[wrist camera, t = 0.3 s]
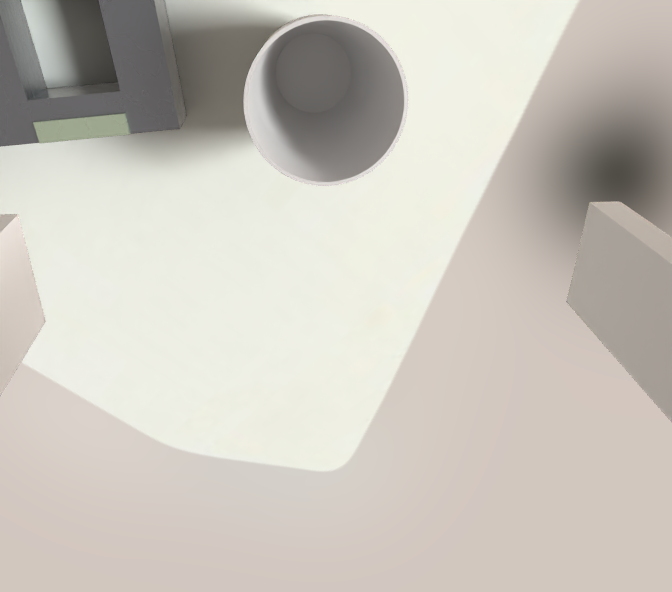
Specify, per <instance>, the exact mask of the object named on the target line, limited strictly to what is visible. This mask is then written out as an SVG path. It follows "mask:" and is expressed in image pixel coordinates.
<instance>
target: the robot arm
mask: <svg viewBox="0 0 672 592" xmlns="http://www.w3.org/2000/svg"><path fill="white" fill-rule="evenodd" d="M567 303H568V304H569V305H570V307H571V308H572V309H573V310H574V311H575V312H576V313H577V315H578V316H579V317H580V318H581V319H582V320H583V321H584V323H585V324H586V325H587V326H588V327H589V328H590V329H591V331H592V332H593V333H594V334H595V335H596V336H597V337H598V339H599V340H600V341H601V342H602V343H603V344H604V345H605V346H606V348H607V349H608V350H609V351H610V352H611V353H612V354H613V356H614V357H615V358H616V359H617V360H618V361H619V362H620V364H621V365H622V366H623V367H624V368H625V369H626V371H627V372H628V373H629V374H630V375H631V376H632V377H633V379H634V380H635V381H636V382H637V383H638V384H639V385H640V386H641V388H642V389H643V390H644V391H645V392H646V393H647V395H648V396H649V397H650V398H651V399H652V400H653V401H654V403H655V404H656V405H657V406H658V407H659V408H660V409H661V411H662V412H663V413H664V414H665V415H666V416H667V417H668V419H670V421H671V422H672V237H671V236H669V235H668V234H666V233H665V232H663V231H662V230H661V229H659V228H658V227H656V226H655V225H653V224H652V223H650V222H649V221H647V220H646V219H645V218H643V217H642V216H640V215H639V214H637V213H636V212H634V211H633V210H631V209H630V208H629V207H627V206H626V205H624V204H623V203H621V202H590V203H589V207H588V212H587V216H586V220H585V225H584V229H583V233H582V237H581V242H580V246H579V250H578V255H577V259H576V263H575V267H574V272H573V276H572V280H571V284H570V289H569V293H568V297H567ZM45 322H46V321H45V317H44V313H43V309H42V305H41V301H40V298H39V294H38V290H37V286H36V282H35V278H34V274H33V270H32V266H31V262H30V258H29V255H28V251H27V247H26V243H25V239H24V235H23V231H22V227H21V223H20V219H19V216H18V214H5V215H0V396H1V394H2V393H3V391H4V389H5V388H6V386H7V385H8V383H9V381H10V380H11V378H12V376H13V375H14V373H15V371H16V370H17V368H18V366H19V365H20V363H21V361H22V360H23V358H24V356H25V355H26V353H27V352H28V350H29V348H30V347H31V345H32V343H33V342H34V340H35V338H36V337H37V335H38V333H39V332H40V330H41V328H42V327H43V325H44V323H45Z"/></svg>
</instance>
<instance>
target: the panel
mask: <svg viewBox="0 0 672 592" xmlns="http://www.w3.org/2000/svg"><path fill="white" fill-rule="evenodd" d="M98 1H99V5H100V9H101V13H102V18H103V22H104V26H105V30H106V34H107V38H108V42H109V47H110V51H111V55H112V59H113V63H114V67H115V71H116V76H117V80H118V82H113V83H103V84H92V85H81V86H71V87H60V88H50V89H47V88H46V84H45V81H44V77H43V74H42V71H41V67H40V64H39V61H38V57H37V54H36V51H35V47H34V44H33V41H32V37H31V34H30V31H29V27H28V24H27V21H26V17H25V14H24V11H23V7H22V4H21V1H20V0H0V146H10V145H20V144H30V143H48V142H58V141H68V140H79V139H89V138H99V137H109V136H119V135H129V134H131V133H142V132H152V131H162V130H172V129H180V128H181V126H182V124H183V122H184V120H185V118H186V116H187V115H186V109H185V104H184V99H183V94H182V89H181V83H180V78H179V73H178V68H177V63H176V58H175V52H174V47H173V42H172V37H171V32H170V26H169V21H168V16H167V11H166V6H165V0H98Z"/></svg>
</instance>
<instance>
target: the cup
mask: <svg viewBox="0 0 672 592" xmlns="http://www.w3.org/2000/svg"><path fill="white" fill-rule="evenodd" d="M243 103H244V115H245V120H246V124H247V128H248V131H249V133H250V136H251V138H252V140H253V142H254V144H255V146H256V147H257V149H258V150H259V152H260V153H261V154H262V156H263V157H264V158H265V159H266V160H267V161H268V162H269V163H270V164H271V165H272V166H273V167H274V168H275V169H277V170H278V171H280V172H281V173H283V174H284V175H286V176H288V177H290V178H292V179H294V180H297V181H299V182H303V183H306V184H311V185H320V186H330V185H339V184H343V183H347V182H350V181H353V180H356V179H358V178H360V177H362V176H364V175H366V174H367V173H369V172H371V171H372V170H373V169H375V168H376V167H377V166H378V165H379V164H381V163H382V162H383V161H384V160H385V159H386V157H387V156H388V155H389V154H390V152H391V151H392V150H393V148H394V147H395V145H396V143H397V142H398V140H399V138H400V136H401V133H402V131H403V128H404V125H405V121H406V117H407V110H408V89H407V82H406V78H405V74H404V71H403V69H402V66H401V64H400V62H399V60H398V58H397V56H396V54H395V53H394V51H393V50H392V48H391V47H390V46H389V45H388V43H387V42H386V41H385V40H384V39H383V38H382V37H381V36H380V35H378V34H377V33H376V32H375V31H373V30H372V29H370V28H369V27H367V26H365V25H364V24H362V23H360V22H357V21H355V20H352V19H349V18H345V17H340V16H332V15H309V16H304V17H300V18H297V19H295V20H292V21H290V22H288V23H287V24H285V25H283V26H282V27H280V28H279V29H278V30H277V31H275V32H274V33H273V34H272V35H271V36H270V37H269V38H268V40H267V41H266V42H265V44H264V45H263V46H262V48H261V49H260V51H259V52H258V54H257V55H256V57H255V59H254V61H253V63H252V65H251V67H250V70H249V72H248V75H247V79H246V83H245V88H244V100H243Z"/></svg>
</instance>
